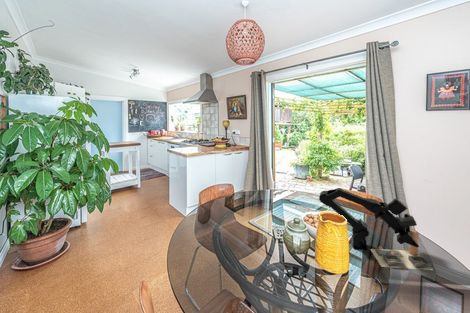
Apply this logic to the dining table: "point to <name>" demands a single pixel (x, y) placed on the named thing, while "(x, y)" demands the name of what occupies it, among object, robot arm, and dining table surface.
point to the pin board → (400, 259)
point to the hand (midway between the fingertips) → (417, 244)
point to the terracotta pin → (415, 236)
